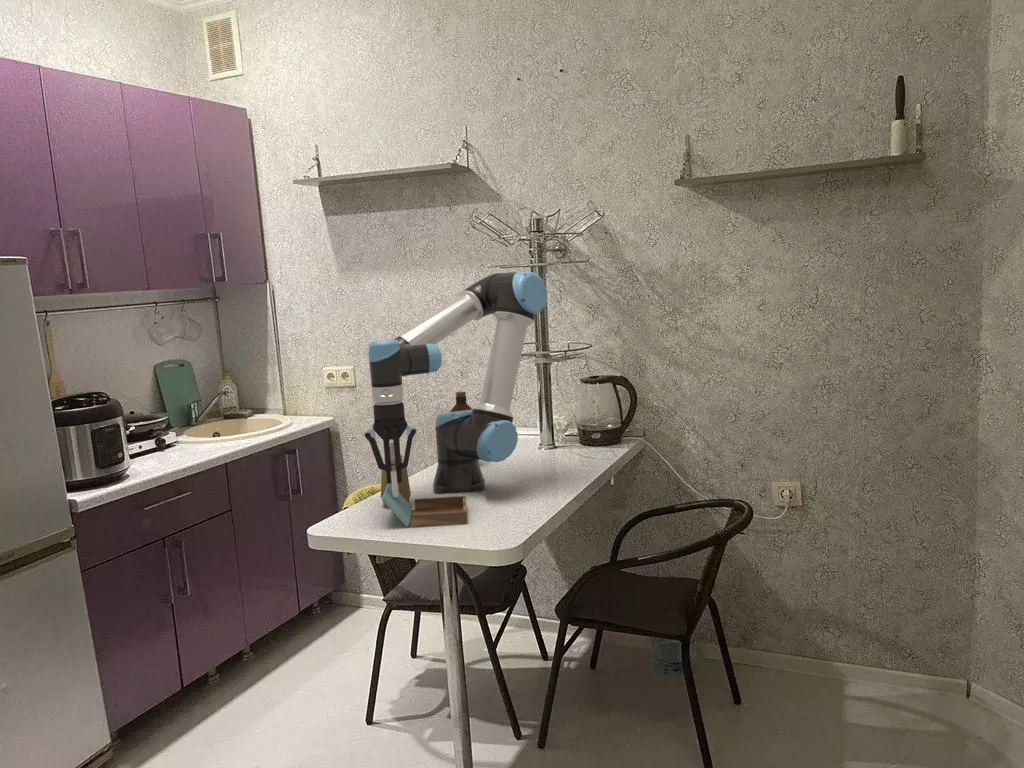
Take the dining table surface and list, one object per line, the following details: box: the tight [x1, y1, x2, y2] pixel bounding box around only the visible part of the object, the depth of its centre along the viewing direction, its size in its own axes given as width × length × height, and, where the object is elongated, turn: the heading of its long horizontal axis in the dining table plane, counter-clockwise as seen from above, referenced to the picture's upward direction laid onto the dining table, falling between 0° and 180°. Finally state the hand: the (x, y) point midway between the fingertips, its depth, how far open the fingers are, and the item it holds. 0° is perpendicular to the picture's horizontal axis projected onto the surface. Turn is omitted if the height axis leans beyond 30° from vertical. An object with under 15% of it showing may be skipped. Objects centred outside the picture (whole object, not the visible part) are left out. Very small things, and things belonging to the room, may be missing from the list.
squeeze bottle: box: [380, 442, 412, 509], centre depth 205 cm, size 8×8×18 cm
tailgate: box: [381, 484, 413, 528], centre depth 192 cm, size 15×1×9 cm
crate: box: [406, 495, 468, 529], centre depth 193 cm, size 15×15×4 cm
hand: (395, 495), depth 192 cm, fingers closed
